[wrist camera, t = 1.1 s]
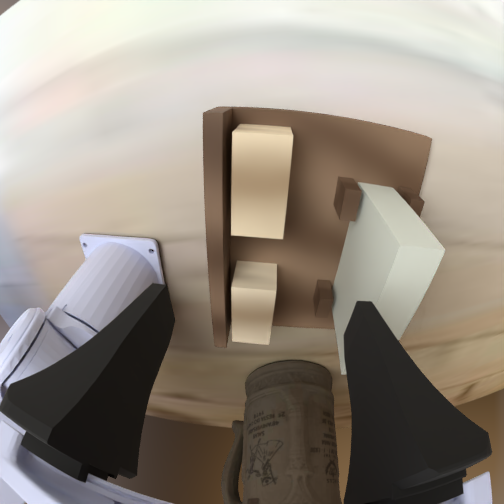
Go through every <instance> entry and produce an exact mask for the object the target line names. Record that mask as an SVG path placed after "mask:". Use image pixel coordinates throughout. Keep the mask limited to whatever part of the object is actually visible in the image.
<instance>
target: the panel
mask: <svg viewBox="0 0 504 504" xmlns="http://www.w3.org/2000/svg"><path fill="white" fill-rule="evenodd" d="M358 186H359V188H360V189H361V191H362V193H361V198H360V202H359V207H358V211H357V216H356V220H355V222H354V221H350V223H349V227H348V231H347V235H346V239H345V243H344V247H343V251H342V255H341V259H340V263H339V266H338V270H337V274H336V277H335V281H334V284H333V288H332V294H333V299H334V300H333V303H332V306H331V307H332V313H333V319H334V325H335V332H336V339H337V345H338V352H339V360H340V367H341V375H347V373H346V366H345V359H344V336H343V335H344V333H345V330H346V328H347V325H348V323H349V320H350V318H351V315H352V312H353V310H354V307H355V304H356V302H357V301H372V303H373V304H374V306H375V307H376V308H377V310H378V311H379V313H380V314H381V316H382V317H383V319H384V320H385V322H386V323H387V325H388V326H389V328H390V329H391V331H392V332H393V334H394V335H395V337H396V338H397V340H398V341H399V339H400V338H401V336H402V334H403V333H404V331H405V329H406V328H407V326H408V324H409V322H410V321H411V319H412V317H413V315H414V314H415V312H416V310H417V308H418V306H419V304H420V303H421V301H422V299H423V297H424V295H425V293H426V291H427V289H428V287H429V285H430V283H431V281H432V279H433V277H434V275H435V273H436V270H437V268H438V266H439V264H440V262H441V259H442V257H443V255H444V252H445V249H444V248H443V246H442V245H441V244H440V242H439V241H438V240H437V239H436V237H435V236H434V235H433V233H432V232H431V231H430V230H429V228H428V227H427V226H426V225H425V224H424V222H423V221H422V220H421V219H420V218H419V216H418V215H417V214H416V213H415V212H414V210H413V209H412V208H411V207H410V206H409V205H408V204H407V202H406V201H405V200H404V199H403V198H402V197H401V196H400V195H399V194H398V192H397V191H396V190H395V189H394V188H392V187H386V186H380V185H374V184H368V183H361V182H358Z"/></svg>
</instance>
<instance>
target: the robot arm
mask: <svg viewBox="0 0 504 504" xmlns="http://www.w3.org/2000/svg"><path fill="white" fill-rule="evenodd" d="M80 242H81V246H82V249H83V252H84V255H85V258H86V260H85V261H84V263H83V264H82V265H81V266H80V268H79V269H78V270H77V271H76V273H75V274H74V275H73V276H72V278H71V279H70V280H69V281H68V283H67V284H66V285H65V287H64V288H63V289H62V291H61V292H60V293H59V295H58V296H57V297H56V299H55V300H54V302H53V303H52V304H51V306H50V307H49V309H48V310H47V311H46V312H44V311H43V310H42V309H41V308H36V309H35V308H29V309H27V310H26V311H25V312H24V313H23V314H22V315H21V316H20V317H19V319H18V320H17V321H16V322H15V323H14V325H13V326H12V327H11V329H10V330H9V331H8V333H7V334H6V336H5V337H4V339H3V340H2V342H1V343H0V504H24V503H25V502H26V503H28V504H121V503H122V504H173V503H169V502H165V501H162V500H158V499H155V498H151V497H148V496H145V495H142V494H139V493H136V492H133V491H130V490H128V489H125V488H122V487H120V486H117V485H115V484H112V483H110V482H108V481H107V478H108V476H110V477H112V478H115V479H116V478H117V475H118V474H119V475H121V476H124V477H127V478H129V479H130V478H133V477H135V476H137V467H138V455H139V447H140V440H141V433H142V428H143V423H144V418H145V413H146V409H147V404H148V400H149V396H150V393H151V390H152V387H153V384H154V381H155V379H156V376H157V374H158V371H159V368H160V366H161V363H162V361H163V358H164V356H165V353H166V350H167V348H168V345H169V342H170V339H171V335H172V331H173V327H174V323H175V318H174V314H173V310H172V306H171V301H170V297H169V293H168V288H167V285H165V282H164V276H163V271H162V266H161V260H160V255H159V249H158V244H157V242H156V241H155V240H154V239H150V238H137V237H123V236H109V235H95V234H82V235H81V236H80ZM85 243H86V244H87V245H86V244H85ZM151 249H153V250H154V251H152V250H151ZM343 336H344V359H345V366H346V373H347V380H348V387H349V394H350V402H351V412H352V438H351V456H350V465H349V474H348V481H347V487H346V492H345V497H344V504H492V492H491V482H490V473H489V472H486V473H484V474H482V475H479V476H477V477H475V478H473V479H471V480H468V481H466V482H464V483H463V482H462V478H463V477H466V468H468V467H471V466H473V465H474V464H476V463H478V462H480V461H482V460H484V459H486V458H487V457H489V456H490V455H491V453H492V450H491V444H490V439H489V435H488V432H486V431H485V430H483V429H482V428H481V427H479V426H478V425H476V424H475V423H474V422H472V421H471V420H470V419H468V418H467V417H466V416H465V415H463V414H462V413H461V412H460V411H459V410H458V409H456V408H455V407H454V406H453V405H452V404H451V403H450V402H449V401H448V400H447V399H446V398H445V397H444V396H443V395H442V394H441V393H440V392H439V391H438V390H437V389H436V388H435V387H434V386H433V385H432V383H431V382H430V381H429V380H428V379H427V378H426V377H425V375H424V374H423V373H422V372H421V371H420V369H419V368H418V367H417V366H416V364H415V363H414V362H413V360H412V359H411V358H410V356H409V355H408V354H407V352H406V351H405V350H404V348H403V347H402V345H401V344H400V342H399V341H398V340H397V338H396V337H395V335H394V334H393V332H392V331H391V329H390V328H389V326H388V325H387V323H386V322H385V320H384V319H383V317H382V316H381V314H380V313H379V311H378V310H377V308H376V307H375V306H374V304H373V303H372V301H357V302H356V304H355V307H354V310H353V312H352V315H351V318H350V320H349V323H348V325H347V328H346V330H345V333H344V335H343Z"/></svg>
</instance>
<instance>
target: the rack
mask: <svg viewBox="0 0 504 504" xmlns="http://www.w3.org/2000/svg"><path fill="white" fill-rule="evenodd" d="M239 124H253V125H269V126H282V127H291V130H292V133H293V146H292V157H291V167H290V178H289V188H288V197H287V207H286V216H285V225H284V234H283V239H272V238H260V237H247V236H234V235H231V187H232V132H233V131H234V130H235V129H236V128H237V127H238V126H239ZM431 141H432V139H431V138H429V137H427V136H424V135H421V134H417V133H414V132H410V131H406V130H402V129H398V128H394V127H390V126H386V125H381V124H377V123H372V122H367V121H362V120H357V119H352V118H346V117H340V116H334V115H327V114H320V113H312V112H304V111H294V110H284V109H271V108H253V107H216V108H214V109H211V110H209V111H206V112H204V113H203V166H204V199H205V222H206V242H207V259H208V274H209V287H210V300H211V312H212V324H213V334H214V344H215V346H216V347H224V348H226V347H227V342H228V336H229V331H230V325H231V322H232V301H231V286H232V282H233V277H234V272H235V268H236V263H237V261H249V262H261V263H273V264H277V289H276V298H275V305H274V313H273V320H272V325H273V326H287V327H304V328H326V329H335V325H334V319H333V313H332V307H331V306H332V303H333V300H334V299H333V294H332V288H333V284H334V281H335V277H336V274H337V270H338V266H339V263H340V259H341V255H342V251H343V247H344V243H345V239H346V235H347V231H348V227H349V223H350V221H354V222H355V220H356V216H357V211H358V207H359V202H360V198H361V193H362V191H361V189H360V188H359V186H358V182H361V183H368V184H374V185H380V186H386V187H392V188H394V189H395V190H396V191H397V192H398V194H399V195H400V196H401V197H402V198H403V199H404V200H405V201H406V202H407V204H408V205H409V206H410V207H411V208H412V209H413V210H414V212H415V213H416V214H417V215H418V216H419V218H420V214H421V211H422V208H423V205H424V201H423V200H422V199H421V198H420V197H419V192H420V189H421V185H422V181H423V177H424V173H425V169H426V165H427V160H428V156H429V151H430V146H431Z"/></svg>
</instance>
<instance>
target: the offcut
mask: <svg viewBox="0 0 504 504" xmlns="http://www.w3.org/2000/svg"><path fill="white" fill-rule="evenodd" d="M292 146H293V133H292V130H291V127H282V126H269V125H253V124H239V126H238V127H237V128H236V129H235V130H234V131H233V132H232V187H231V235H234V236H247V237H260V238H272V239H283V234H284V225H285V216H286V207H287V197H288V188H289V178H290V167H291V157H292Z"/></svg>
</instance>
